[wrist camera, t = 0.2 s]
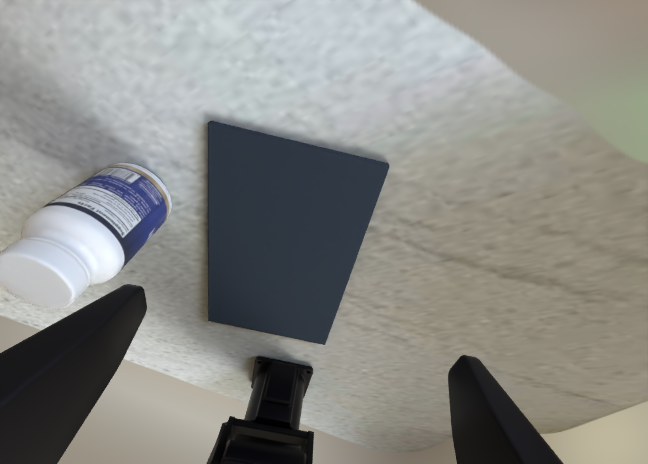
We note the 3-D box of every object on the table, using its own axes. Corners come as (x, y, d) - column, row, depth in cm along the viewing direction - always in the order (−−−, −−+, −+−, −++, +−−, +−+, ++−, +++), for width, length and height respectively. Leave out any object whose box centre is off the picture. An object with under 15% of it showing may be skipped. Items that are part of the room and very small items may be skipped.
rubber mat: (325, 341, 32) (324, 345, 32) (209, 316, 32) (208, 320, 31) (389, 163, 21) (389, 166, 21) (210, 120, 20) (207, 122, 20)
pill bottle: (148, 234, 26) (57, 330, 18) (89, 186, 24) (-43, 272, 16) (188, 201, 24) (105, 295, 16) (127, 146, 22) (-4, 222, 14)
